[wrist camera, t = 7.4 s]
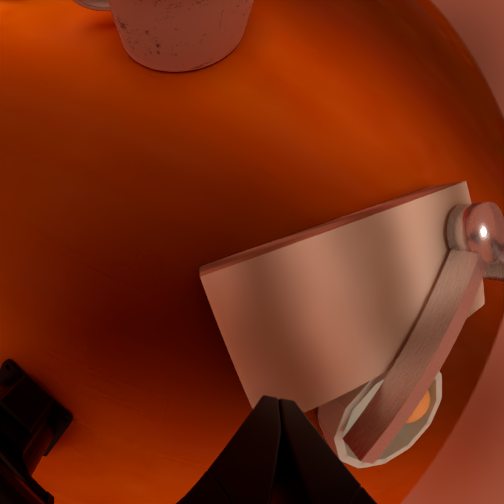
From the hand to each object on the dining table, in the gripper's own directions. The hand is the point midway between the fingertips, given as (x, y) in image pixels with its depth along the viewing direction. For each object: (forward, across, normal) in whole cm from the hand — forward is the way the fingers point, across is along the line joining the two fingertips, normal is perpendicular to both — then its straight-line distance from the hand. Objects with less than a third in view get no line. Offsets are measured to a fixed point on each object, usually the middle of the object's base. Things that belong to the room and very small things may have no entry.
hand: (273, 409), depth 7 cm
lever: (+9, -11, +1) cm, 14 cm away
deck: (+13, -5, -1) cm, 14 cm away
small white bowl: (+12, -10, +8) cm, 18 cm away
